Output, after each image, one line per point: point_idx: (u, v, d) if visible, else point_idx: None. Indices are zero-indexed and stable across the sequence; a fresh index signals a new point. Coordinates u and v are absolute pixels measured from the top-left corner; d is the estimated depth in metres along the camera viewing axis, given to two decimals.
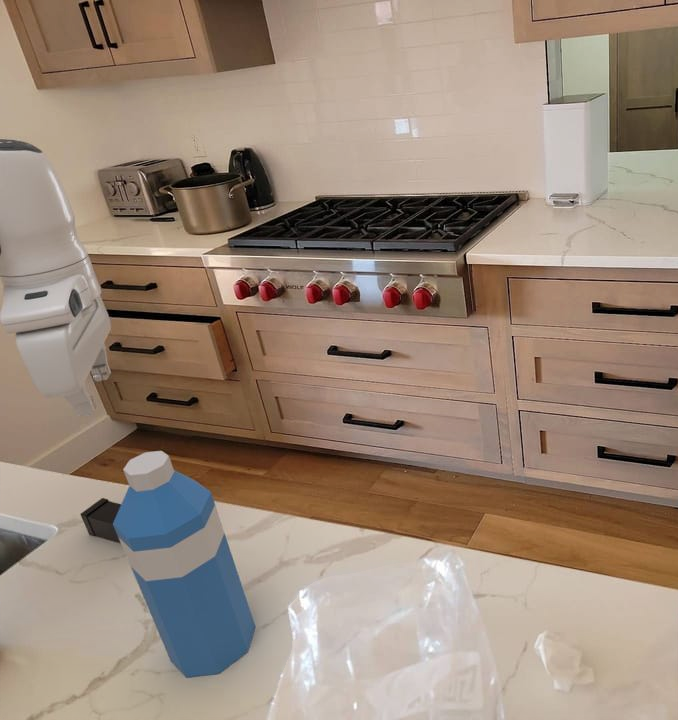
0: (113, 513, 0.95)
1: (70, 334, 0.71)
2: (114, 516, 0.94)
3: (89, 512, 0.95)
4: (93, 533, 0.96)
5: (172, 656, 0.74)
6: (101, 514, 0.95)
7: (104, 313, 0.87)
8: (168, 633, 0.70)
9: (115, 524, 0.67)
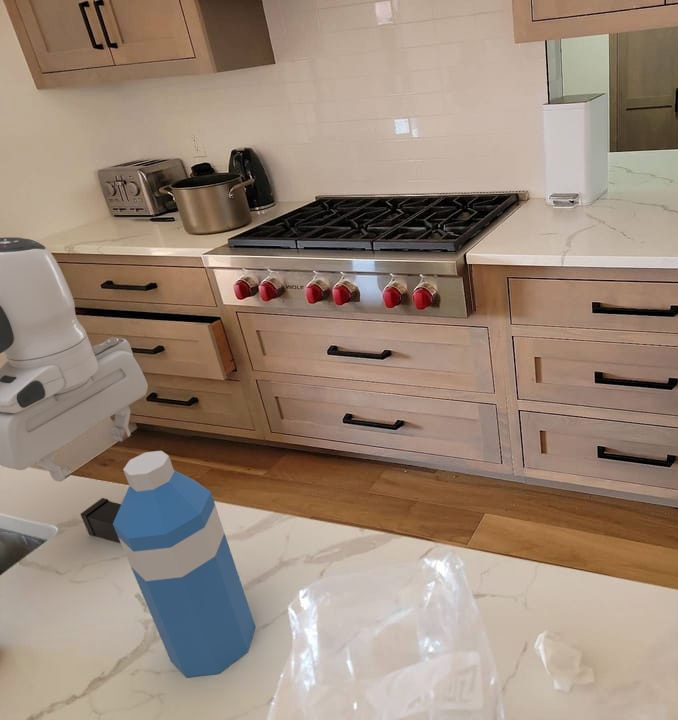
0: (113, 513, 0.95)
1: (15, 422, 0.78)
2: (114, 516, 0.94)
3: (89, 512, 0.95)
4: (93, 533, 0.96)
5: (172, 656, 0.74)
6: (101, 514, 0.95)
7: (135, 382, 0.93)
8: (168, 633, 0.70)
9: (115, 524, 0.67)
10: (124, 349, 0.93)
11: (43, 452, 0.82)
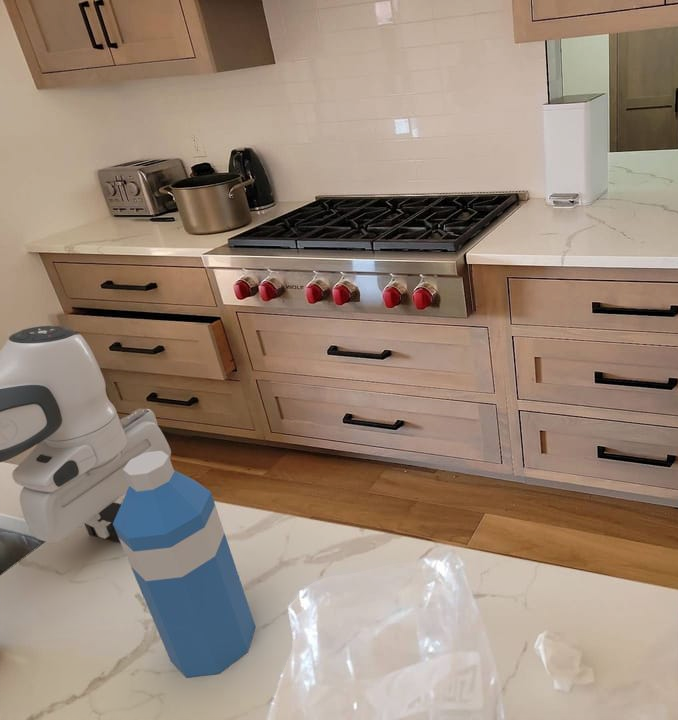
0: (113, 513, 0.95)
1: (51, 500, 0.83)
2: (114, 516, 0.94)
3: None
4: (93, 533, 0.96)
5: (172, 656, 0.74)
6: (101, 514, 0.95)
7: (160, 450, 0.98)
8: (168, 633, 0.70)
9: (115, 524, 0.67)
10: (149, 419, 0.98)
11: (76, 525, 0.87)
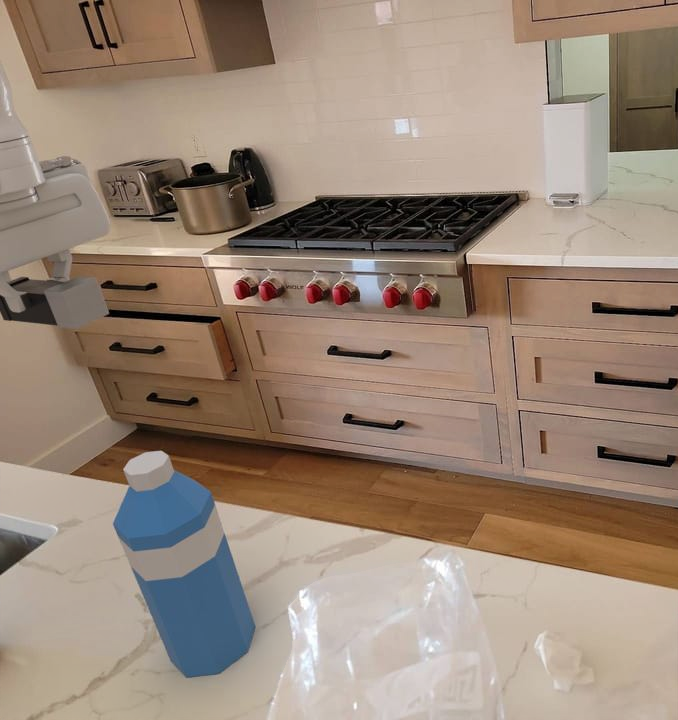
0: (32, 286, 0.74)
1: None
2: (33, 288, 0.73)
3: None
4: (8, 316, 0.75)
5: (172, 656, 0.74)
6: (17, 288, 0.74)
7: (94, 215, 0.77)
8: (168, 633, 0.70)
9: (115, 524, 0.67)
10: (80, 174, 0.76)
11: None
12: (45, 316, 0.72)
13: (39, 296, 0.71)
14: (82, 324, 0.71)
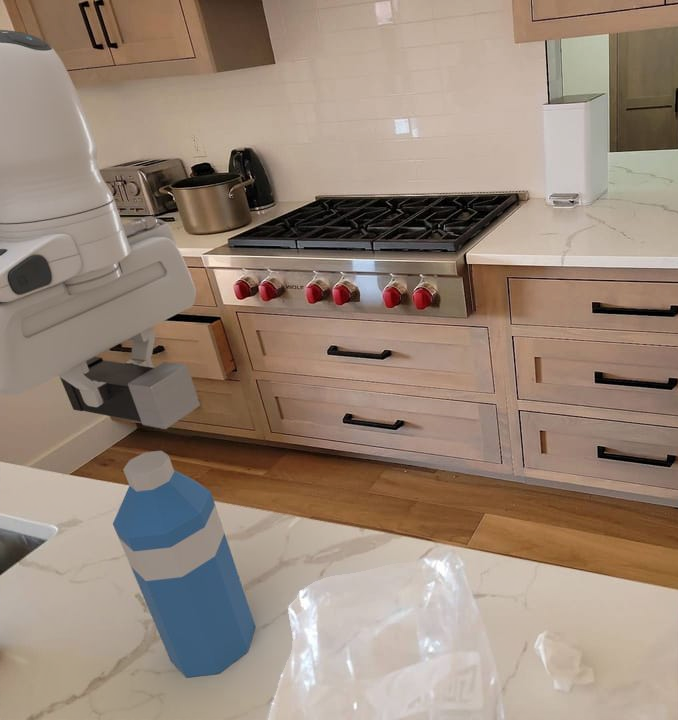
0: (109, 373, 0.62)
1: (5, 317, 0.50)
2: (111, 376, 0.61)
3: None
4: (79, 406, 0.63)
5: (172, 656, 0.74)
6: (91, 374, 0.62)
7: (180, 284, 0.65)
8: (168, 633, 0.70)
9: (115, 524, 0.67)
10: (164, 236, 0.64)
11: (49, 371, 0.54)
12: (126, 410, 0.60)
13: (120, 388, 0.59)
14: (171, 422, 0.59)
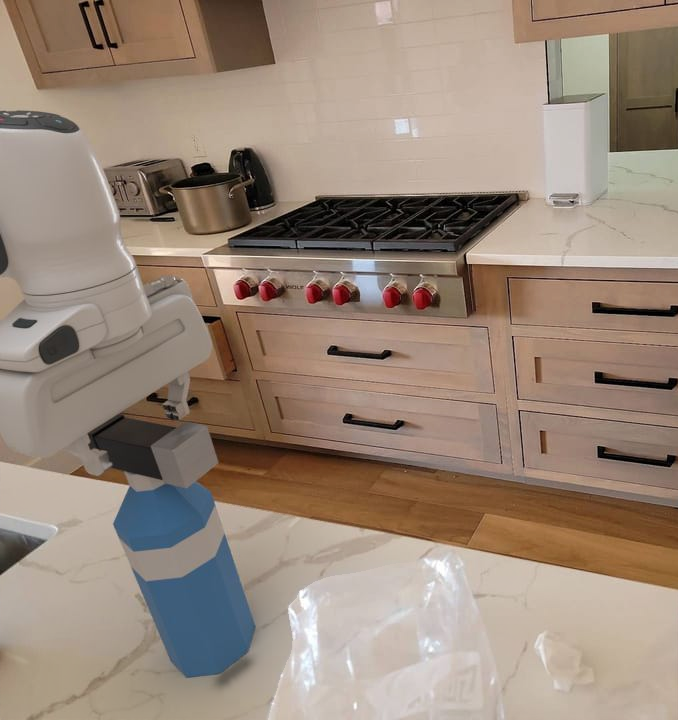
0: (132, 432, 0.64)
1: (36, 386, 0.52)
2: (134, 435, 0.64)
3: (97, 431, 0.65)
4: None
5: (172, 656, 0.74)
6: (114, 433, 0.64)
7: (197, 339, 0.67)
8: (168, 633, 0.70)
9: (115, 524, 0.66)
10: (182, 293, 0.67)
11: (75, 432, 0.56)
12: (148, 469, 0.63)
13: (143, 449, 0.62)
14: (192, 481, 0.62)
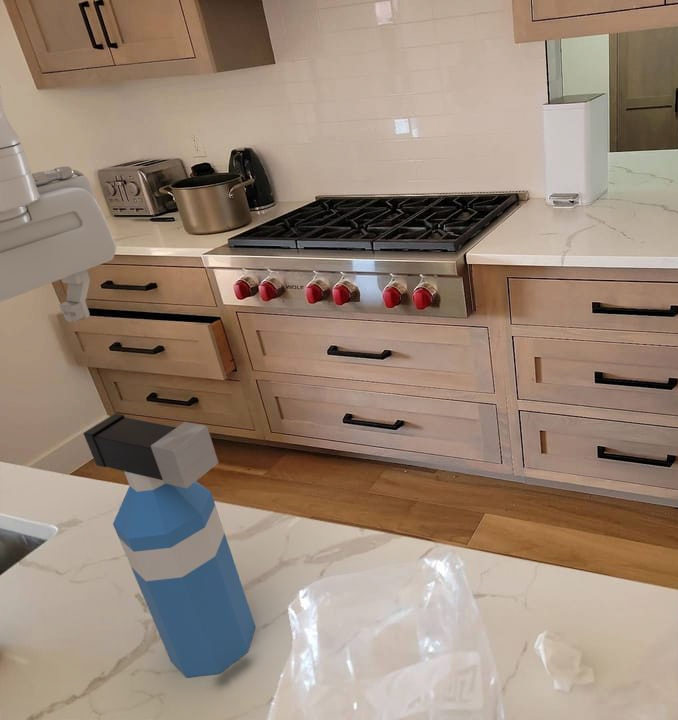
0: (132, 432, 0.64)
1: None
2: (134, 435, 0.64)
3: (97, 431, 0.65)
4: (102, 462, 0.66)
5: (172, 656, 0.74)
6: (114, 433, 0.64)
7: (97, 237, 0.65)
8: (168, 633, 0.70)
9: (115, 525, 0.66)
10: (82, 188, 0.64)
11: None
12: (148, 469, 0.63)
13: (143, 449, 0.62)
14: (192, 481, 0.62)
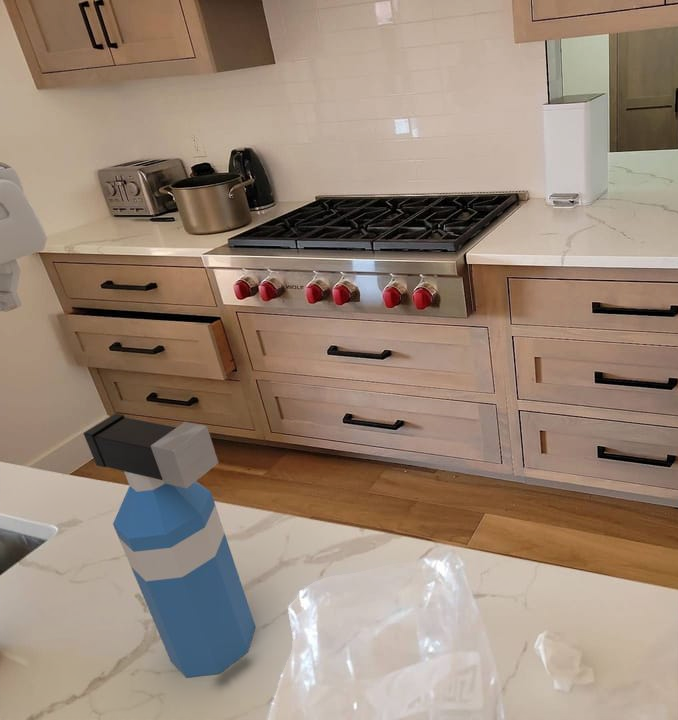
0: (132, 432, 0.64)
1: None
2: (134, 435, 0.64)
3: (97, 431, 0.65)
4: (102, 462, 0.66)
5: (172, 656, 0.74)
6: (114, 433, 0.64)
7: (26, 227, 0.66)
8: (168, 633, 0.70)
9: (115, 525, 0.66)
10: (9, 180, 0.66)
11: None
12: (148, 469, 0.63)
13: (143, 449, 0.62)
14: (192, 481, 0.62)
